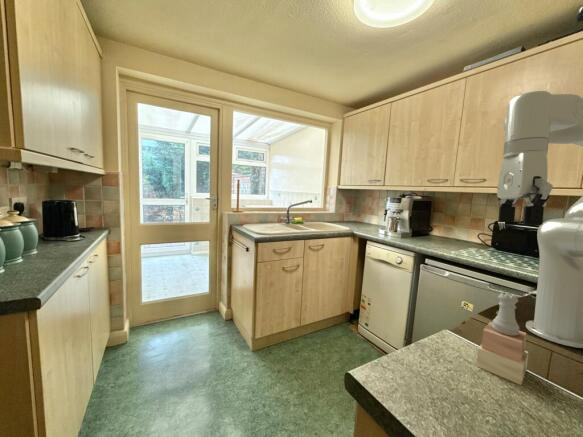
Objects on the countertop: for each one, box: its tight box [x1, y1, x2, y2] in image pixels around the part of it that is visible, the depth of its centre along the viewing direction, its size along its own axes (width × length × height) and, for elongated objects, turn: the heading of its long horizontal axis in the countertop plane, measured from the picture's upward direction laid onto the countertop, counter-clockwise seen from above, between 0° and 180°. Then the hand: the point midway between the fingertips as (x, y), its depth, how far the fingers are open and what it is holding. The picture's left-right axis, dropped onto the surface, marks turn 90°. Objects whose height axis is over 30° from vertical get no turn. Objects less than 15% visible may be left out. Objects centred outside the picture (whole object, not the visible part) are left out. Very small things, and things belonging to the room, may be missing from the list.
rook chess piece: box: [492, 291, 520, 336], centre depth 51 cm, size 4×4×8 cm
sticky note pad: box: [476, 321, 529, 386], centre depth 52 cm, size 7×7×8 cm
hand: (518, 223), depth 58 cm, fingers open, 9 cm apart
